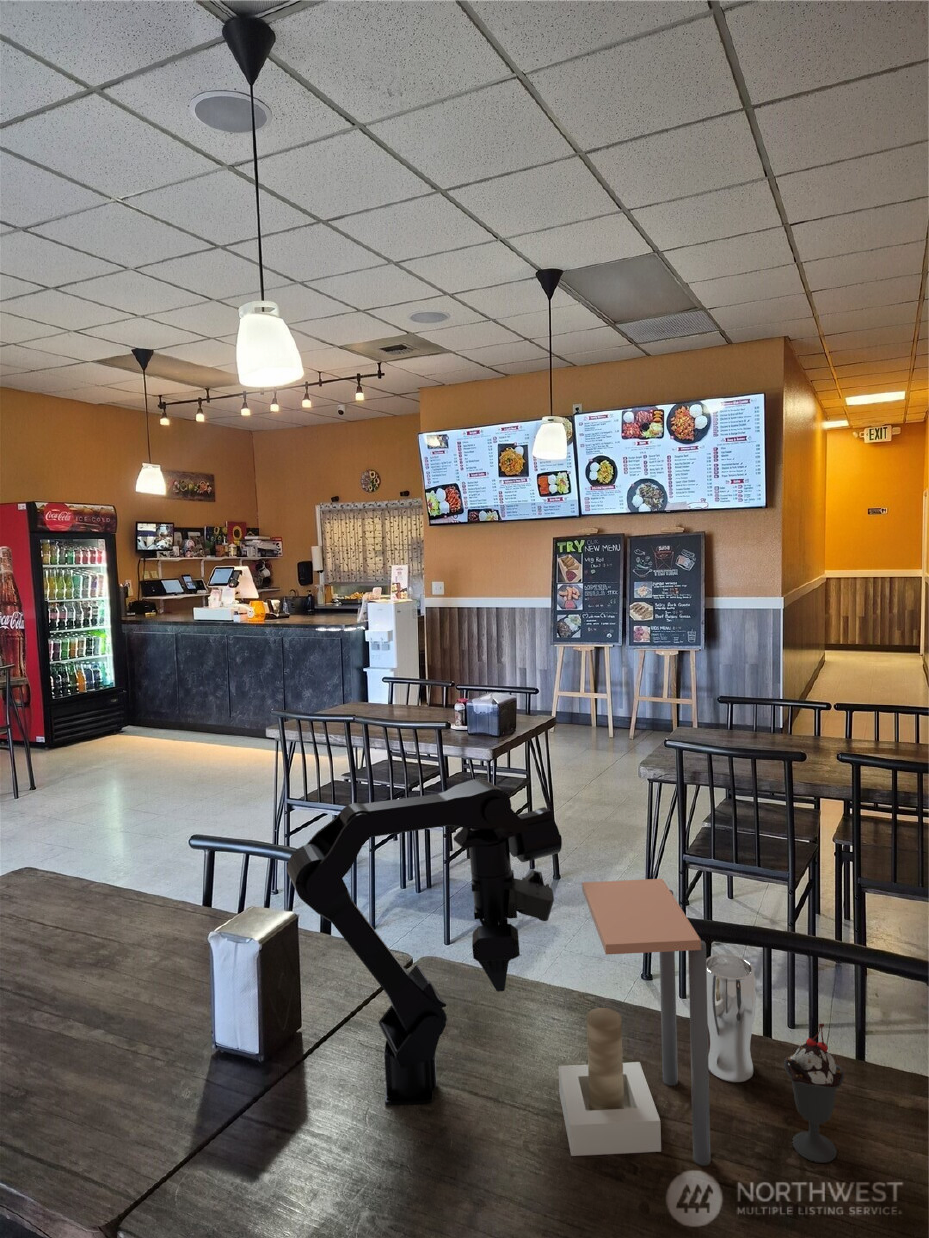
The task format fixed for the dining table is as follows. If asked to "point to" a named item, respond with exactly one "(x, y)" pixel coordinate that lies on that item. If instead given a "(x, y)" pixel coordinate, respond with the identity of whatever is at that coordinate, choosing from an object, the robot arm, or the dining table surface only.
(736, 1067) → the beer glass
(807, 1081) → the sundae
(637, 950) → the table parts
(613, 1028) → the dowel
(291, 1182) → the dining table surface
